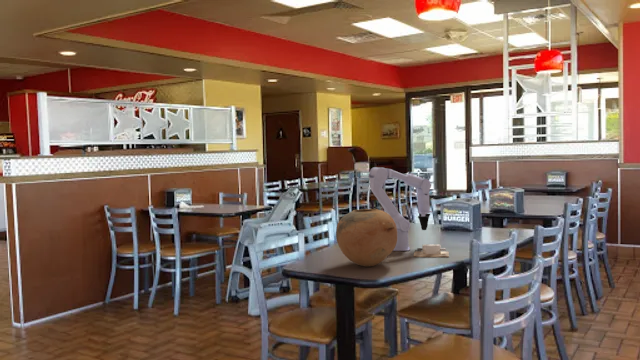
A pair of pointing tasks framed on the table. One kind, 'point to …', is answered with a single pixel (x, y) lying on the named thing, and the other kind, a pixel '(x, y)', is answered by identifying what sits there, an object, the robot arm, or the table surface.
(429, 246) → the connector
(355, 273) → the table surface
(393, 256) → the table surface
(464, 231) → the table surface
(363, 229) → the pot
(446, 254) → the pad
